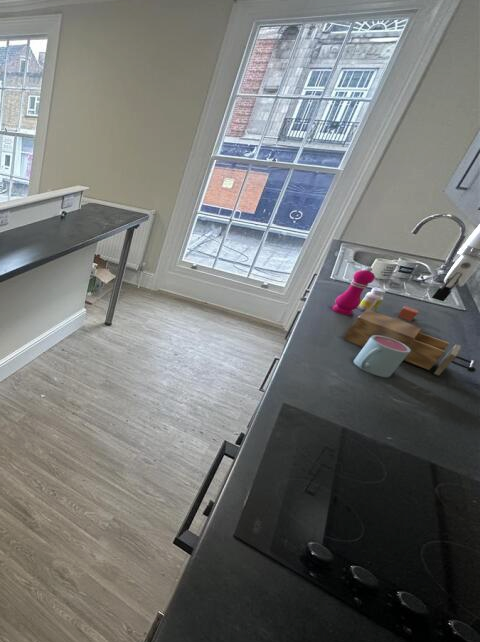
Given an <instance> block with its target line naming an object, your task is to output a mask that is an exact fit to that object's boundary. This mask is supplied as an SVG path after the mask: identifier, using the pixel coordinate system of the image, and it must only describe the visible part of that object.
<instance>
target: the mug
mask: <svg viewBox="0 0 480 642" xmlns="http://www.w3.org/2000/svg"><path fill="white" fill-rule="evenodd" d="M410 351H411V350H410V348H409V347H408V346H406V345H405V344H403V343H401V342H399V341H397V340H394V339H391V338H388V337H385V336H380V335H373V336H371V338H370V339H369V340H368V342H367V343H366V345H365V346H364V347H362V349H361V350H360V351H359V353H358V354H357V356H356V357H355V358H354V359H353V364H355V365H356V367H358V368H359V369H361V370H362V371H364V372H367V373H368V374H372V375H374V376H376V377H377V376H378V377H381V378H389V377H391V376H393V373H394V372H395V371H396V370H397V368H398V367H399V366H400V365H401V364H402V362H404V361H405V360H404V359H405V357H406V356H407V355H408V354H409V352H410Z"/></svg>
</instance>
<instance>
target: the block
mask: <svg viewBox="0 0 480 642" xmlns="http://www.w3.org/2000/svg"><path fill="white" fill-rule="evenodd" d="M419 312H420V310H419V309H416V308H413V307H409V306H407V305H404V306H403V308H402V309H401V310H400V311H399V313H398V314H397V315H396V317H398V318H400V319H403V320H406V321H408V322H412V321H413V319H415V317H416V316H417V315H418V313H419Z"/></svg>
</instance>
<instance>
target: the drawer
mask: <svg viewBox="0 0 480 642" xmlns="http://www.w3.org/2000/svg"><path fill="white" fill-rule="evenodd" d="M449 345H450V342H448V341H445V340H442V339H440V338H437V337H434V336H431V335H428V334H426V333H423V332H420V331H419V332H418V334H417V335H416V336H415V338H414V339H413V340H412V341H411V343H410V344H409V345H408V347H409V348H410V350H411V351H410V352H409V354H408V355H407V356H406V357H405V359H404V360H403V361H405V362H407V363H410V364H412V365H415V366H418V367H420V368H423V369H425V370H427V371H430V370H431V368H432V367H433V366H434V365H436V363H437V362H438V360H440V358H441V357H442V356H443V355H444V354H445V352H446V348H447V347H448V346H449ZM461 347H462V345H460V344H457V343H456V344H455V345H453V347H452V348H451V349H450V350H449V352H447V354H445V356H444V357H443V358H442V359H441V360H440V362H439V363H438V365H437V367H436V368H435V370H434V372H433V375H436V376H438V377H439V376H440V375H441V374H442V373H443V372H444V371H445V370H446V368H447V367H448V366H449V365H450V364H454V365H457V366H459V367H461V368H463V369H464V368H465V369H467V371H468V372H470V373H474V372H476V371H477V367H478V366H479V361H477V360H474V359H473V360H470V359H467V358H465V357H462V356H459V355H458V353H459V351H460V349H461ZM455 359H457V360H461V361H464V362H466V363H469V364H468V365H465V364H462V363H461V362H457V361H455Z"/></svg>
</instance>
